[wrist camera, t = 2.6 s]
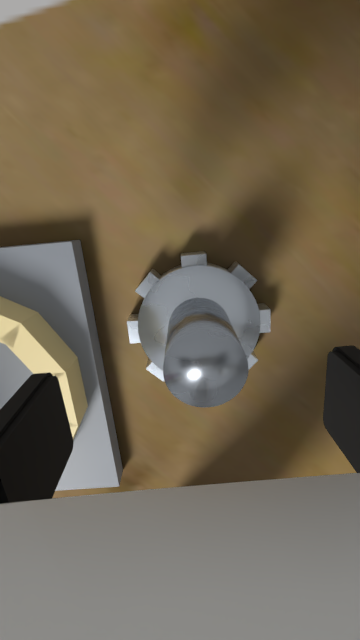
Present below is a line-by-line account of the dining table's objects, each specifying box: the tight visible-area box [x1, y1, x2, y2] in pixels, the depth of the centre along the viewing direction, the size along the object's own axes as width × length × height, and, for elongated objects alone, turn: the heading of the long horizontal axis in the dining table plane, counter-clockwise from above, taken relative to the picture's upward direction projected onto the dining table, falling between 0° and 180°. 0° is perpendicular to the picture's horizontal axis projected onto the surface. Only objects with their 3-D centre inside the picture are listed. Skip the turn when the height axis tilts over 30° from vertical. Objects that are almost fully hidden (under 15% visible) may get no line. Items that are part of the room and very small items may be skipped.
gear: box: [127, 251, 270, 407], centre depth 16 cm, size 8×8×7 cm
